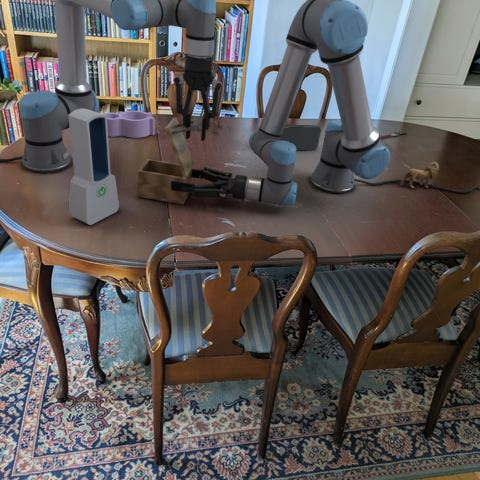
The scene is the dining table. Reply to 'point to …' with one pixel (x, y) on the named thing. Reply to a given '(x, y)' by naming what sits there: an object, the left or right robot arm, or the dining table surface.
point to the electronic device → (91, 168)
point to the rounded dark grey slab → (302, 136)
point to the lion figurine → (421, 174)
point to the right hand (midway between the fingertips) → (175, 178)
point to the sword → (391, 135)
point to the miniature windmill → (211, 99)
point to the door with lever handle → (181, 143)
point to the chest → (161, 181)
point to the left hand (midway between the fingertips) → (195, 138)
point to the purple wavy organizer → (130, 124)
